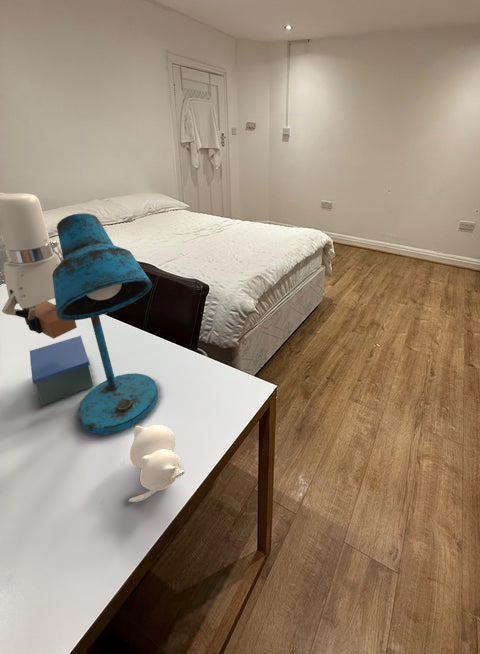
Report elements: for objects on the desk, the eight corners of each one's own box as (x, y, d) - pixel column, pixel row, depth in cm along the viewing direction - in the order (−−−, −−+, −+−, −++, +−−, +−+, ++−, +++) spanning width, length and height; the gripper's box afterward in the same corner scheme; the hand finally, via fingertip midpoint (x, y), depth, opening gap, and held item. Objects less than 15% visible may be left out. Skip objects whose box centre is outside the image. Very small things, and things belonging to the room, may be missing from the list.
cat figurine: (168, 458, 53) (150, 408, 62) (113, 513, 51) (102, 453, 59) (198, 471, 59) (177, 423, 68) (150, 521, 56) (135, 465, 65)
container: (37, 375, 82) (29, 350, 79) (86, 358, 88) (80, 335, 85) (41, 407, 73) (32, 380, 70) (95, 386, 79) (88, 361, 76)
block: (26, 324, 75) (21, 309, 74) (49, 314, 79) (45, 300, 78) (53, 338, 71) (49, 323, 69) (76, 327, 75) (73, 312, 73)
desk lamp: (99, 466, 61) (40, 244, 44) (70, 399, 75) (17, 212, 58) (179, 418, 72) (156, 225, 55) (141, 367, 86) (113, 201, 69)
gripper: (62, 238, 77) (79, 304, 84) (-31, 262, 63) (-2, 339, 69) (82, 244, 74) (97, 312, 81) (-12, 270, 60) (16, 350, 66)
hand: (51, 324), depth 75 cm, fingers closed on block, 5 cm apart
